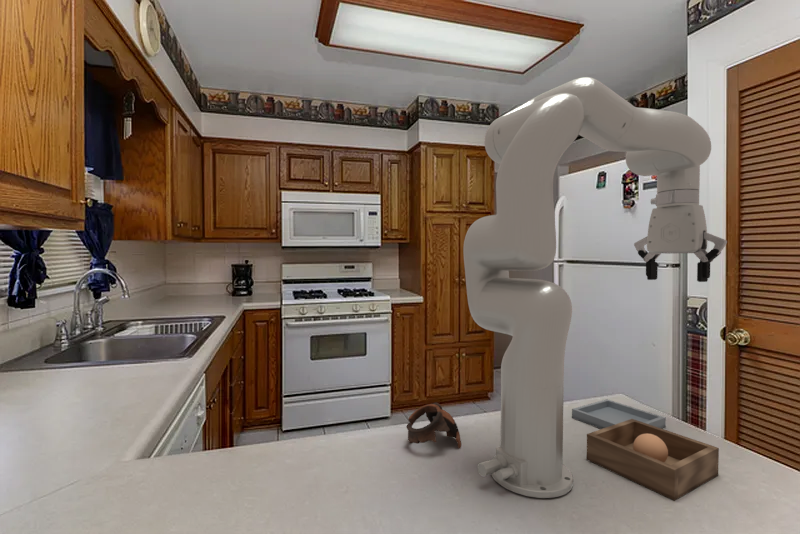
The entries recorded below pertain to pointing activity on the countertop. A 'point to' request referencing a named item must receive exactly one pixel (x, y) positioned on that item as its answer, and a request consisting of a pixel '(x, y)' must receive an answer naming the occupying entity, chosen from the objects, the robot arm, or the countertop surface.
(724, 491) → the countertop surface
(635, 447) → the ball
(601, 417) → the tray
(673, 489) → the bin
